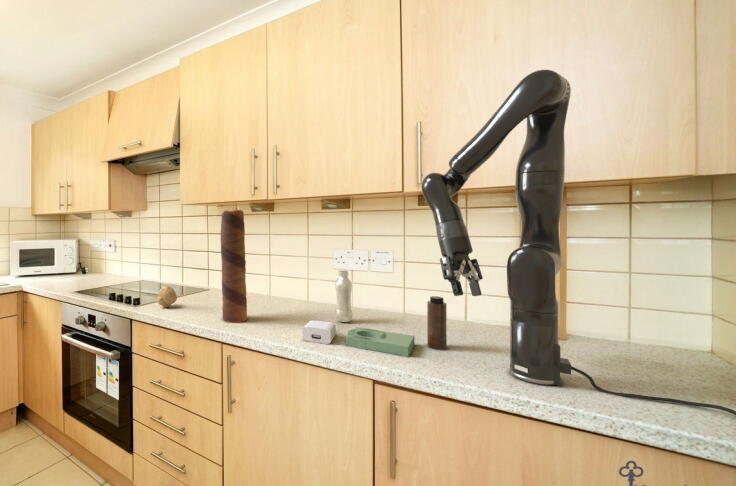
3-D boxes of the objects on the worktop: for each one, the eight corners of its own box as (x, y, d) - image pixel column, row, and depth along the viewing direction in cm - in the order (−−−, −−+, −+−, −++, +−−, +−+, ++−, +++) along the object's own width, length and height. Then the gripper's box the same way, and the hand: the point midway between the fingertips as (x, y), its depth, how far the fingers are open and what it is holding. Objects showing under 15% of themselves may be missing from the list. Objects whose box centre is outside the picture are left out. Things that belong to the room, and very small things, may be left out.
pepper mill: (447, 346, 114) (447, 296, 113) (446, 351, 109) (445, 299, 109) (428, 343, 117) (428, 295, 116) (426, 347, 113) (426, 297, 112)
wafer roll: (223, 324, 142) (221, 209, 141) (220, 317, 152) (218, 210, 151) (249, 322, 143) (248, 209, 142) (244, 315, 154) (243, 210, 153)
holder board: (414, 345, 115) (414, 335, 115) (408, 357, 105) (408, 346, 105) (353, 334, 126) (353, 326, 126) (342, 344, 116) (342, 335, 116)
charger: (339, 331, 130) (330, 344, 117) (313, 328, 134) (302, 340, 121) (338, 318, 130) (330, 329, 117) (313, 315, 134) (302, 326, 121)
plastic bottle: (340, 324, 139) (340, 272, 139) (332, 319, 146) (331, 270, 145) (356, 323, 140) (355, 272, 140) (346, 318, 147) (346, 269, 146)
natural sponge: (180, 305, 174) (180, 285, 173) (171, 310, 165) (170, 288, 165) (164, 304, 177) (164, 284, 177) (154, 308, 169) (153, 287, 169)
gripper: (451, 232, 97) (467, 293, 92) (481, 236, 103) (497, 293, 98) (425, 240, 103) (438, 297, 98) (455, 243, 110) (469, 297, 105)
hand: (468, 295), depth 98 cm, fingers open, 8 cm apart
